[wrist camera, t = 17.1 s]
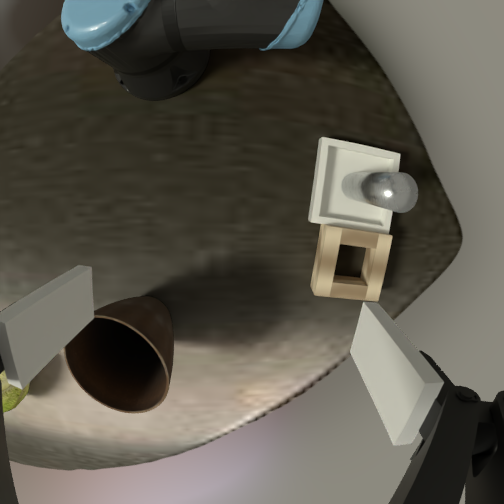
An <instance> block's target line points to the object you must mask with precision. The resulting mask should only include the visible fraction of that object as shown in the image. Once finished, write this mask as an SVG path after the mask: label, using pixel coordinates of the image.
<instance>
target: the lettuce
mask: <svg viewBox="0 0 504 504" xmlns="http://www.w3.org/2000/svg"><path fill="white" fill-rule="evenodd" d="M0 380H1V383H2V403H3V412H7V411H10V410H12V409H13V408H15V407H16V406H17V405H18V404H19V403H20V402H21V401H22V400H23V399H24V397H25V396H26V395H27V393H28V390H29V383H28V384H27V385H26V386H25V388H24V389H23V390H22V389H20V388H18V387H15V386H13V385H11V384H9V383H8V380H7V377H6V374H5V371H3V372H2V373H1V374H0Z"/></svg>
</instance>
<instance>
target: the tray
mask: <svg viewBox="0 0 504 504" xmlns="http://www.w3.org/2000/svg"><path fill="white" fill-rule="evenodd" d="M399 163H400V154H399V153H395V152H391V151H387V150H383V149H378V148H374V147H370V146H365V145H361V144H356V143H351V142H346V141H341V140H336V139H331V138H325V137H322V138H320V139H319V143H318V152H317V160H316V167H315V175H314V182H313V190H312V197H311V204H310V211H309V218H308V220H309V221H310V222H313V223H320V224H327V225H334V226H340V227H347V228H354V229H360V230H366V231H373V232H379V233H385V234H389V230H390V224H391V218H392V212H393V211H391V210H388V209H384V208H381V207H377V206H374V205H370V204H367V203H363V202H359V201H356V200H352V199H349V198H347V197H346V196H345V195H344V193H343V191H342V188H341V184H342V180H343V178H344V177H345V176H346V175H347V174H349V173H355V172H398V171H399Z"/></svg>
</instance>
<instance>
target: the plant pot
mask: <svg viewBox="0 0 504 504" xmlns="http://www.w3.org/2000/svg"><path fill="white" fill-rule="evenodd" d="M64 355H65V360H66V363H67V366H68V368H69V370H70V372H71V374H72V376H73V377H74V379H75V380H76V382H77V383H78V384H79V386H80V387H81V388H82V389H83V390H84V391H85V392H86V393H87V394H88V395H89V396H91V397H92V398H93V399H95V400H96V401H98V402H99V403H101V404H103V405H105V406H107V407H109V408H111V409H114V410H117V411H120V412H125V413H143V412H147V411H150V410H152V409H154V408H156V407H157V406H159V405H160V404H161V403H162V402H163V401H164V399H165V398H166V396H167V393H168V390H169V384H170V379H171V373H172V366H173V355H174V334H173V326H172V320H171V316H170V313H169V310H168V309H167V307H166V306H165V305H164V304H163V303H162V302H161V301H160V300H158V299H156V298H153V297H149V296H141V297H133V298H128V299H124V300H120V301H117V302H114V303H111V304H109V305H106V306H104V307H102V308H99V309H97V310H95V311H94V319H93V320H92V321H91V322H89V323H88V324H87V325H86V326H85V327H84V328H83V329H82V330H81V331H80V332H79V333H78V334H77V335H76V336H75V337H74V338H73V339H72V340H71V341H70V342H69V343H68V344H67V345H66V346H65V347H64Z"/></svg>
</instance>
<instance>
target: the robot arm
mask: <svg viewBox="0 0 504 504" xmlns="http://www.w3.org/2000/svg"><path fill="white" fill-rule="evenodd" d="M322 4H323V0H65V2H64V5H63V9H62V14H61V21H62V27H63V29H64V31H65V33H66V35H67V36H68V37H69V38H71V39H72V40H73V41H74V42H75V43H76V44H77V45H78V47H79V48H81V49H82V50H86V51H87V52H89V53H91V54H92V55H94V56H95V57H97V58H99V59H100V60H102V61H103V62H105V63H107V64H108V65H110V66H111V67H113V69H114V72H115V75H116V78H117V80H118V82H119V83H120V85H121V86H122V87H123V88H124V89H125V90H126V91H127V92H129V93H130V94H132V95H133V96H135V97H137V98H140V99H143V100H149V101H159V100H165V99H169V98H172V97H175V96H177V95H179V94H181V93H183V92H184V91H186V90H187V89H189V88H190V87H191V86H192V85H194V84H195V83H196V82H197V80H198V79H199V78H200V77H201V75H202V74H203V72H204V71H205V69H206V67H207V64H208V61H209V57H210V49H231V48H259V49H260V50H269V49H293V48H297V47H299V46H301V45H303V44H304V43H306V42H307V41H308V39H309V38H310V36H311V35H312V33H313V31H314V29H315V27H316V24H317V21H318V19H319V16H320V12H321V8H322ZM93 319H94V306H93V290H92V267H88V266H82V265H78V266H76V267H75V268H73V269H71V270H69V271H68V272H66V273H64V274H62V275H61V276H59V277H57V278H55V279H54V280H52V281H50V282H49V283H47V284H45V285H43V286H42V287H40V288H38V289H37V290H35V291H33V292H32V293H30V294H28V295H27V296H25V297H24V298H22V299H20V300H19V301H17V302H15V303H13V304H11V305H10V306H8V307H7V308H5V309H3V310H2V311H0V374H1V373H2V372H3V371H5V374H6V377H7V380H8V383H9V384H11V385H13V386H15V387H18V388H20V389H22V390H23V389H24V388H25V386H26V385H27V384H28V383H29V382H30V381H31V380H32V379H33V378H34V377H35V376H36V375H37V374H38V373H39V372H40V371H41V370H42V369H43V368H44V367H45V366H46V365H47V364H48V363H49V362H50V361H51V360H52V359H53V358H54V357H55V356H56V355H57V354H58V353H59V352H60V351H61V350H62V349H63V348H64V347H65V346H66V345H67V344H68V343H69V342H70V341H71V340H72V339H73V338H74V337H75V336H76V335H77V334H78V333H79V332H80V331H81V330H82V329H83V328H84V327H85V326H86V325H87V324H88V323H89V322H91V321H92V320H93ZM350 353H351V355H352V357H353V359H354V361H355V363H356V366H357V368H358V370H359V372H360V374H361V376H362V378H363V380H364V382H365V384H366V386H367V389H368V391H369V392H370V395H371V397H372V399H373V401H374V403H375V406H376V408H377V410H378V412H379V414H380V417H381V419H382V421H383V423H384V425H385V428H386V430H387V432H388V434H389V437H390V439H391V441H392V443H393V445H394V446H396V445H404V444H412V442H413V441H414V439H415V437H416V436H417V434H418V432H420V434H421V436H422V437H423V439H422V441H421V443H420V445H419V446H418V448H417V449H416V451H415V452H414V454H413V455H412V457H411V459H410V460H412V461H411V463H410V465H409V467H408V469H407V471H406V473H405V475H404V477H403V479H402V481H401V483H400V484H399V486H398V488H397V490H396V492H395V494H394V495H393V497H392V499H391V500H390V502H389V504H459V502H460V498H461V495H462V492H463V489H464V485H465V504H504V391H501V392H499V393H498V394H497V395H496V397H495V399H494V401H493V402H486V401H485V402H484V401H481V400H480V397H479V396H478V394H477V393H476V392H474V391H473V390H471V389H469V388H467V387H462V386H455V385H454V384H453V383H452V382H451V381H450V379H449V378H448V377H447V376H446V375H445V373H444V372H443V371H441V369H440V367H439V366H438V365H436V363H435V362H434V360H433V359H432V358H431V357H430V356H429V355H427V354H426V353H424V352H423V351H418V349H417V348H416V347H415V346H414V345H413V343H412V342H411V341H410V340H409V339H408V337H407V336H406V335H405V334H404V333H403V332H402V330H401V329H400V328H399V327H398V326H397V325H396V323H395V322H394V321H393V320H392V319H391V318H390V316H389V315H388V314H387V313H386V312H385V311H384V310H383V308H382V307H381V306H380V305H379V304H378V303H372V302H363V306H362V310H361V313H360V317H359V321H358V325H357V329H356V332H355V336H354V339H353V343H352V346H351V350H350ZM0 504H19V503H18V499H17V496H16V492H15V487H14V482H13V478H12V473H11V468H10V462H9V456H8V450H7V443H6V435H5V426H4V416H3V403H2V383H1V380H0Z"/></svg>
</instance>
